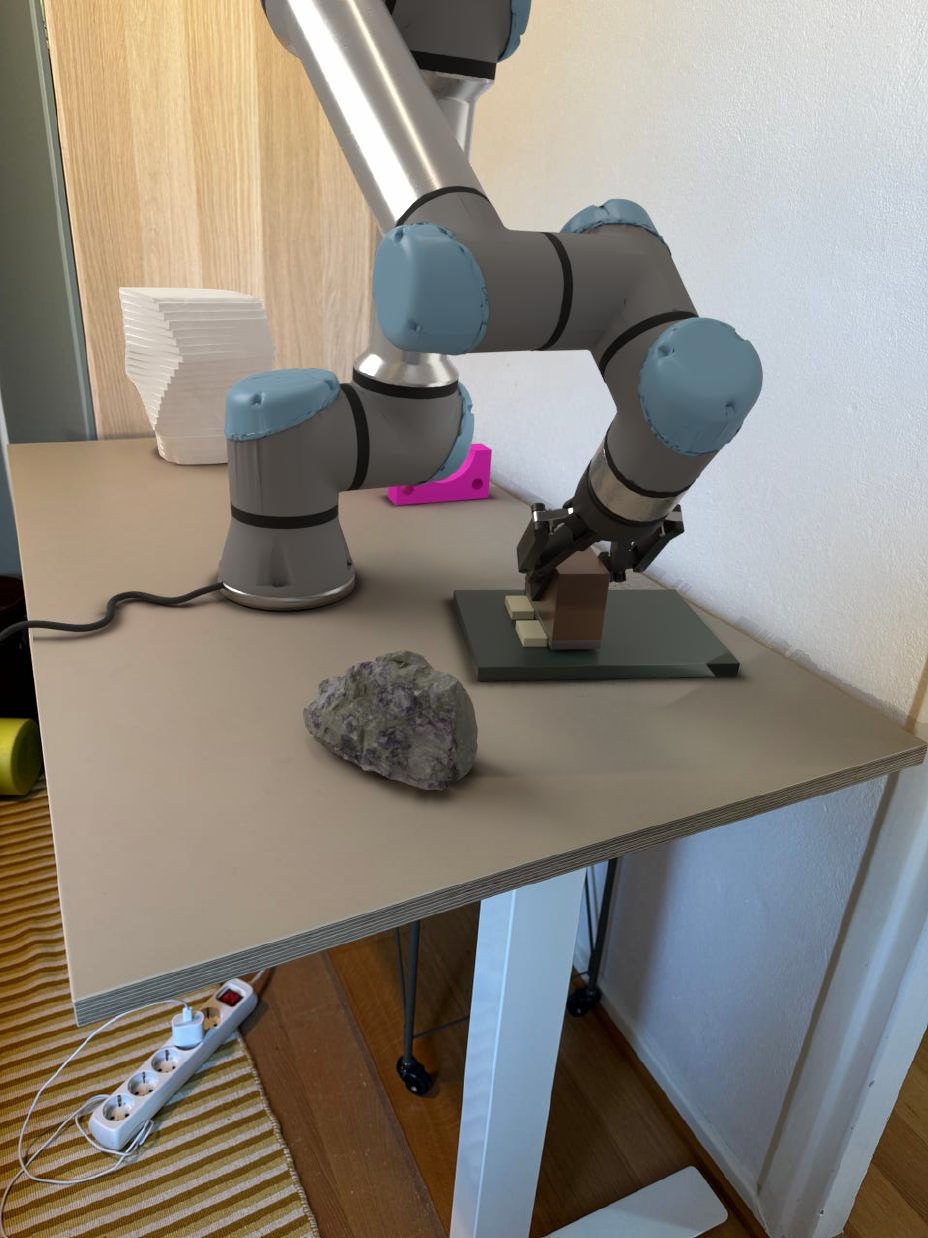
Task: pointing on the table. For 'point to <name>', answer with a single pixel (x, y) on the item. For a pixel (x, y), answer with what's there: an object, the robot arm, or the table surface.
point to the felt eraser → (574, 602)
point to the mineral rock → (398, 720)
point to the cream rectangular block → (519, 607)
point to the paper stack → (192, 362)
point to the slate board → (630, 646)
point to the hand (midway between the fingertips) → (561, 588)
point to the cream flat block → (531, 633)
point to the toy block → (451, 482)
